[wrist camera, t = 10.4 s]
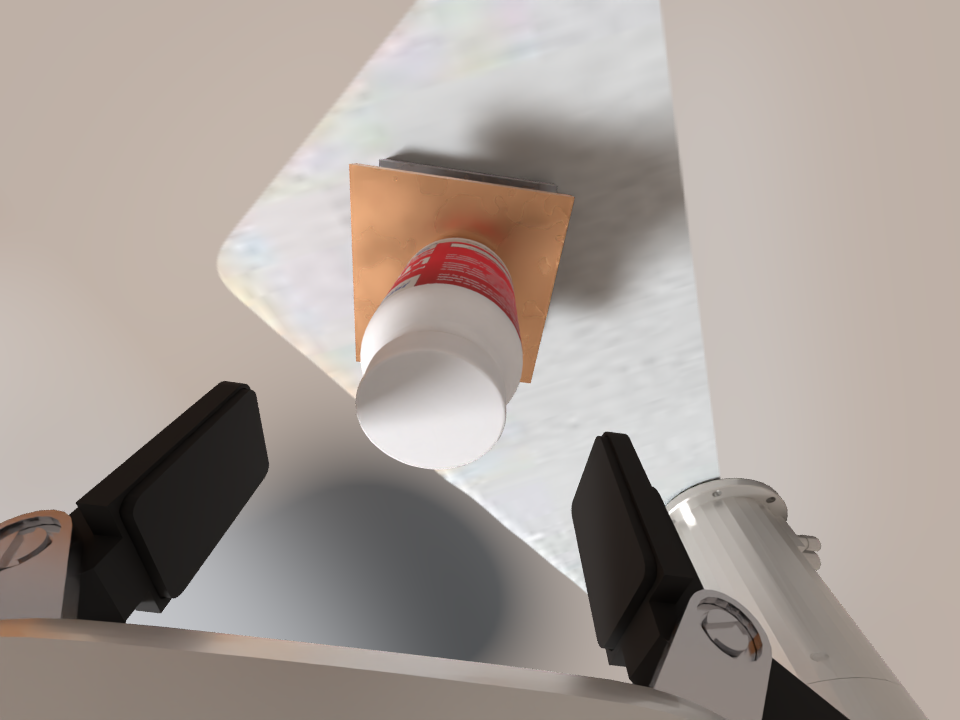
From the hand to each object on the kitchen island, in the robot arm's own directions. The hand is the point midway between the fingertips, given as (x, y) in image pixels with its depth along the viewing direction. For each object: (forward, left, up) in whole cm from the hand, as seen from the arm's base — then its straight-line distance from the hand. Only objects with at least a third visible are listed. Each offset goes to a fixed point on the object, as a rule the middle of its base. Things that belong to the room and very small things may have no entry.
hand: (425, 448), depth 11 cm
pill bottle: (0, 0, -13) cm, 13 cm away
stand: (0, 0, -20) cm, 20 cm away
